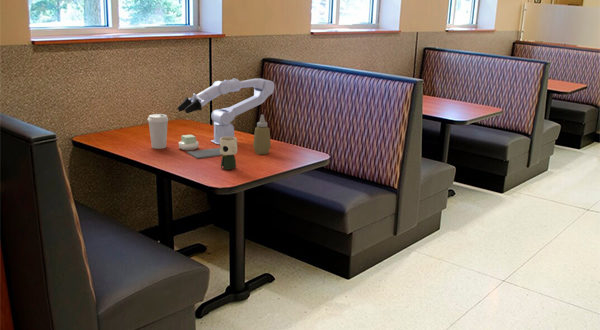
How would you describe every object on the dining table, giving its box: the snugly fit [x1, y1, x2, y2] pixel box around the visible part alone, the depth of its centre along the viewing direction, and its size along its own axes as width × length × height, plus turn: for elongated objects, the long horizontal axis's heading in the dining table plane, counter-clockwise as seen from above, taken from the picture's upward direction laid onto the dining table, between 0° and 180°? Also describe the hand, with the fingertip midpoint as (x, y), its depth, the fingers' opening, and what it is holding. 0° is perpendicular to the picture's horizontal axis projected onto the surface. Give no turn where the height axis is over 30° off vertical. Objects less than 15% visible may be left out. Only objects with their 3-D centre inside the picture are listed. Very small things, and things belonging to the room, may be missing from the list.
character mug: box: [219, 136, 238, 170], centre depth 248 cm, size 11×7×13 cm, turn 45°
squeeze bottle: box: [252, 114, 272, 155], centre depth 273 cm, size 8×8×18 cm
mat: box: [186, 147, 223, 160], centre depth 271 cm, size 16×11×1 cm
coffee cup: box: [147, 113, 169, 150], centre depth 278 cm, size 10×10×15 cm
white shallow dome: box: [178, 140, 199, 151], centre depth 279 cm, size 9×9×3 cm
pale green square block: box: [180, 134, 197, 144], centre depth 278 cm, size 5×5×3 cm
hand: (182, 110), depth 276 cm, fingers open, 7 cm apart
